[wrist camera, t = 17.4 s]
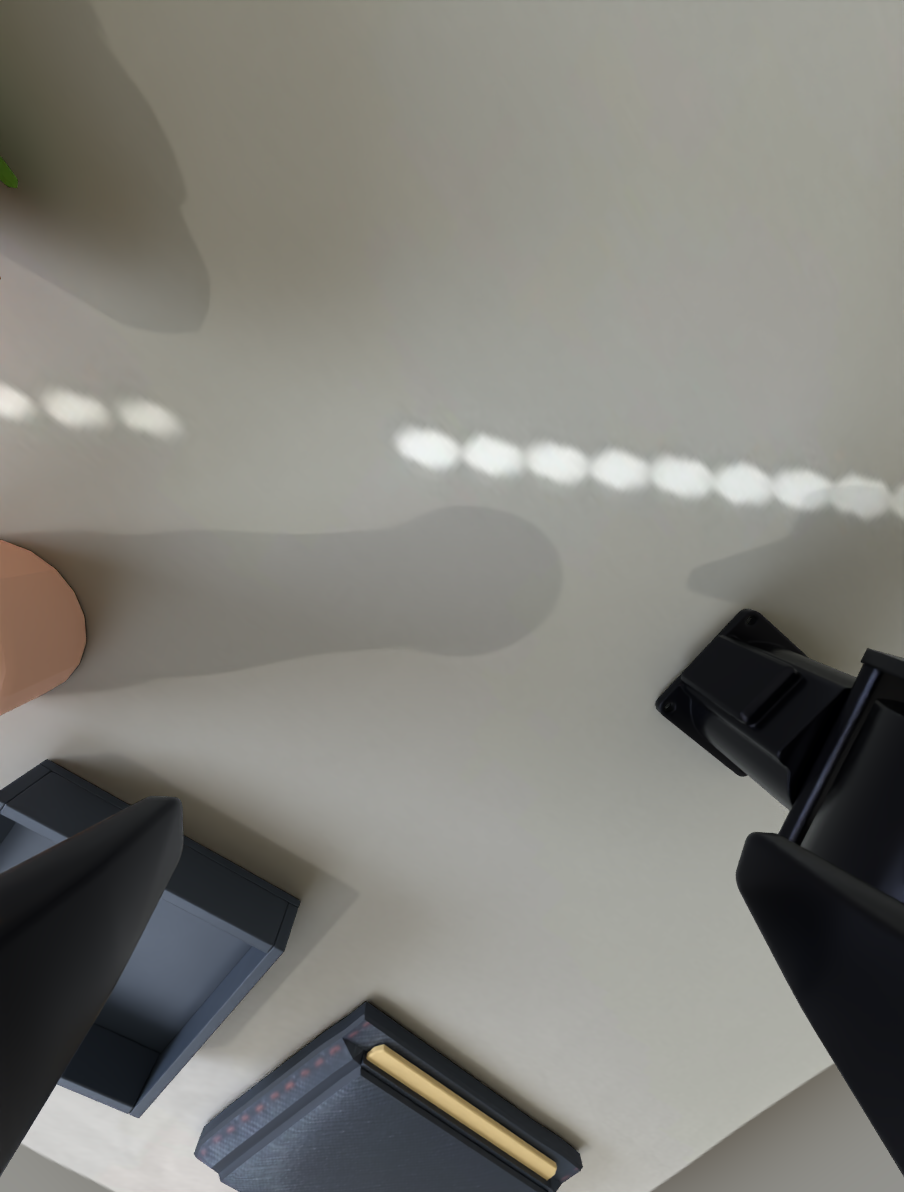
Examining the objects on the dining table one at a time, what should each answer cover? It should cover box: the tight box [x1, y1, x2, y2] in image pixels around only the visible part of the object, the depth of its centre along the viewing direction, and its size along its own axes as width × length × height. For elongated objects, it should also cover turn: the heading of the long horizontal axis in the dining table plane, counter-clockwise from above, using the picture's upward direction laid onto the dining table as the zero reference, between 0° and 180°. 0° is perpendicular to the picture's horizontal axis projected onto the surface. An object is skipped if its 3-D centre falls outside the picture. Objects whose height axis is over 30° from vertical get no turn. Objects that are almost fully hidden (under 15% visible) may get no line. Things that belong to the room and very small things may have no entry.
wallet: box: [194, 1002, 583, 1192], centre depth 26 cm, size 20×2×15 cm
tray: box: [0, 759, 300, 1118], centre depth 21 cm, size 14×13×3 cm
